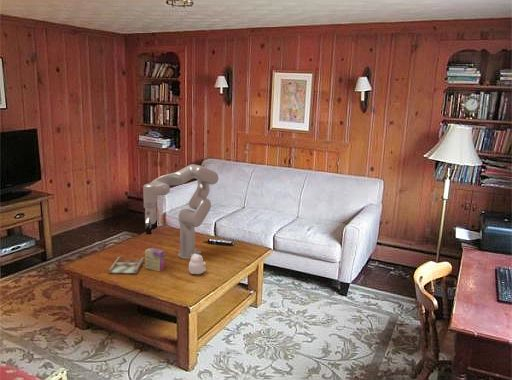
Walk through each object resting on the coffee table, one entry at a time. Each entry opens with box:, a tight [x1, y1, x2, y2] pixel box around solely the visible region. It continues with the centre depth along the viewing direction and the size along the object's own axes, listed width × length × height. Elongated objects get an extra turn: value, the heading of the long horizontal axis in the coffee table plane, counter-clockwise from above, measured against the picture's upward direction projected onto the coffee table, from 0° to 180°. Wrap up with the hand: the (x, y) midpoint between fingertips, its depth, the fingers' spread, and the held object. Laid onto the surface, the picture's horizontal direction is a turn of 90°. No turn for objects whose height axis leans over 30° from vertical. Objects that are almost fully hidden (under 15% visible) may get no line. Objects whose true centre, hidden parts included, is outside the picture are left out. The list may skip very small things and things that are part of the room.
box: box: [144, 247, 166, 272], centre depth 262 cm, size 10×6×12 cm, turn 71°
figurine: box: [188, 253, 207, 275], centre depth 257 cm, size 10×10×12 cm
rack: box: [108, 256, 145, 276], centre depth 262 cm, size 16×20×3 cm
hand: (150, 231), depth 259 cm, fingers open, 9 cm apart
